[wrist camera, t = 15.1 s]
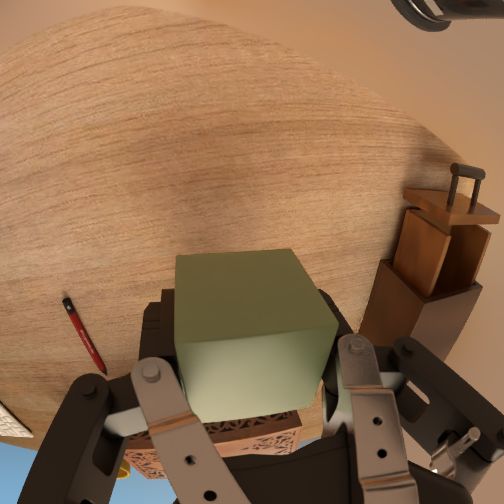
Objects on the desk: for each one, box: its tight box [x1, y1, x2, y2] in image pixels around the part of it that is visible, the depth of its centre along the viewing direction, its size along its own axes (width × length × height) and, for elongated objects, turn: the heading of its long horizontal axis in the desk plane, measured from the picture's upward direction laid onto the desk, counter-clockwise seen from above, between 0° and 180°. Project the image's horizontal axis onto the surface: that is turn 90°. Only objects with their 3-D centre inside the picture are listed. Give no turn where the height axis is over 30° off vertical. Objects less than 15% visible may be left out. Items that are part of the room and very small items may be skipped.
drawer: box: [392, 163, 500, 299], centre depth 30 cm, size 19×11×8 cm, turn 178°
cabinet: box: [358, 259, 483, 362], centre depth 36 cm, size 16×13×10 cm
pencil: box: [62, 298, 107, 376], centre depth 32 cm, size 1×14×1 cm, turn 4°
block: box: [174, 249, 339, 423], centre depth 10 cm, size 4×4×4 cm
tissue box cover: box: [123, 396, 302, 479], centre depth 39 cm, size 26×14×10 cm, turn 92°
